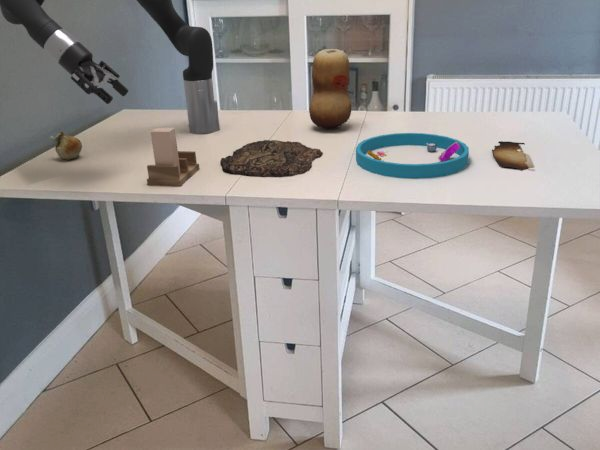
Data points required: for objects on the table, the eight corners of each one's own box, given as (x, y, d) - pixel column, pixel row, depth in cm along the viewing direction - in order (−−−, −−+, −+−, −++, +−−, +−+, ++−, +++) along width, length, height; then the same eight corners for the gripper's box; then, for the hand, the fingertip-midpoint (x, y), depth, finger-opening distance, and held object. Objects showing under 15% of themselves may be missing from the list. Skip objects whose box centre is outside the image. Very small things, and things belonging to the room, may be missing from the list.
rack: (168, 168, 163) (166, 150, 161) (199, 168, 161) (197, 151, 159) (147, 185, 151) (144, 166, 149) (180, 186, 149) (178, 167, 147)
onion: (61, 164, 170) (55, 137, 167) (53, 158, 176) (48, 131, 173) (87, 158, 174) (82, 132, 171) (79, 152, 180) (74, 127, 177)
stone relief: (205, 158, 156) (250, 129, 182) (207, 174, 158) (251, 143, 184) (298, 165, 148) (332, 133, 174) (299, 182, 150) (332, 148, 176)
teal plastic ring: (472, 181, 145) (474, 158, 143) (350, 178, 151) (350, 156, 148) (463, 146, 172) (465, 126, 170) (361, 144, 178) (361, 125, 175)
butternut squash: (324, 136, 186) (322, 54, 176) (302, 127, 197) (299, 50, 187) (360, 128, 192) (360, 49, 182) (337, 120, 203) (336, 45, 193)
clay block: (162, 172, 155) (156, 127, 150) (180, 173, 154) (174, 128, 149) (157, 177, 152) (150, 131, 147) (175, 177, 151) (169, 131, 146)
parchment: (536, 171, 149) (536, 168, 149) (495, 169, 151) (495, 166, 151) (524, 145, 171) (525, 142, 171) (489, 143, 174) (489, 140, 173)
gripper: (59, 45, 140) (113, 93, 143) (90, 37, 153) (138, 81, 155) (45, 68, 143) (97, 115, 146) (76, 58, 156) (123, 101, 159)
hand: (118, 97), depth 151 cm, fingers open, 8 cm apart
